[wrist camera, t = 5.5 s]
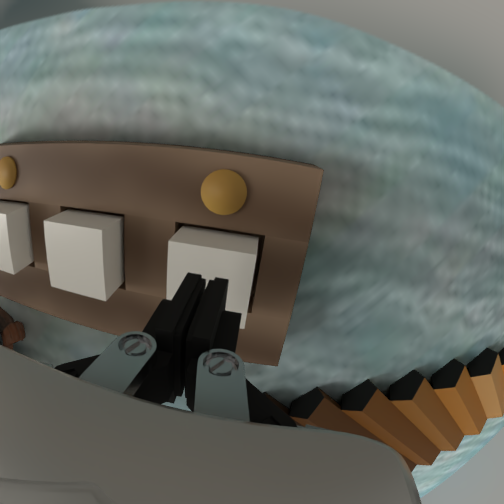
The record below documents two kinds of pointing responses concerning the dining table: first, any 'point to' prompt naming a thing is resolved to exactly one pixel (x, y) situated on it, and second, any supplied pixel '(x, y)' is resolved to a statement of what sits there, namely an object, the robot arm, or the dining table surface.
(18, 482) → the robot arm
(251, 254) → the button
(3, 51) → the dining table surface
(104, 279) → the button middle
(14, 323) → the pottery mug
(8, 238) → the button
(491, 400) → the pan flute
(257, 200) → the button board
